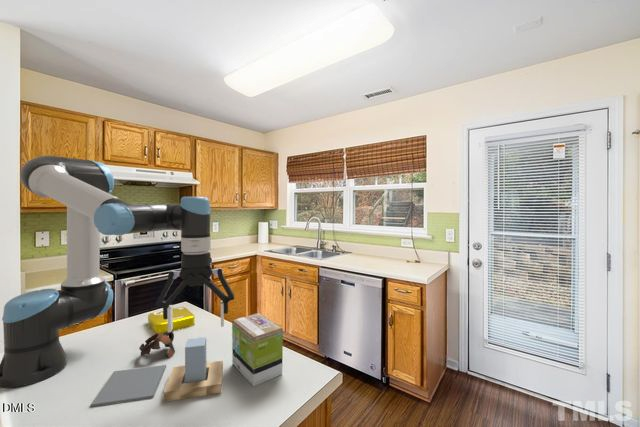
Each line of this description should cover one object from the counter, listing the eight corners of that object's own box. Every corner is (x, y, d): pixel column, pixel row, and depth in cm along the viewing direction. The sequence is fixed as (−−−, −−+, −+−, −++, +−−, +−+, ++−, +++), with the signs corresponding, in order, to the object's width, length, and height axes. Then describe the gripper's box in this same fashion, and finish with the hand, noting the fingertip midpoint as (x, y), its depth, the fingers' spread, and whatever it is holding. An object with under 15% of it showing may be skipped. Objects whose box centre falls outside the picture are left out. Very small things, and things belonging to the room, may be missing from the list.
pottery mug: (167, 364, 94) (152, 345, 92) (144, 374, 96) (129, 355, 94) (186, 338, 105) (173, 320, 103) (165, 347, 107) (152, 329, 105)
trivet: (90, 407, 73) (90, 404, 73) (114, 373, 88) (114, 371, 88) (153, 397, 77) (153, 395, 77) (166, 366, 92) (166, 364, 92)
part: (185, 390, 80) (184, 347, 80) (187, 380, 85) (187, 339, 85) (204, 387, 82) (204, 345, 81) (206, 377, 87) (206, 337, 86)
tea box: (230, 364, 94) (231, 318, 93) (259, 354, 100) (259, 311, 99) (253, 388, 82) (253, 335, 81) (283, 374, 89) (284, 326, 88)
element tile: (155, 336, 113) (155, 324, 113) (147, 323, 124) (147, 312, 124) (195, 326, 123) (195, 314, 123) (184, 315, 134) (184, 305, 134)
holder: (163, 401, 76) (163, 392, 76) (173, 375, 87) (173, 367, 87) (221, 392, 80) (221, 383, 80) (222, 368, 91) (222, 360, 91)
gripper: (141, 256, 75) (142, 338, 76) (242, 252, 82) (243, 327, 83) (149, 251, 82) (150, 327, 83) (242, 248, 89) (242, 317, 90)
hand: (196, 327), depth 83 cm, fingers open, 13 cm apart
